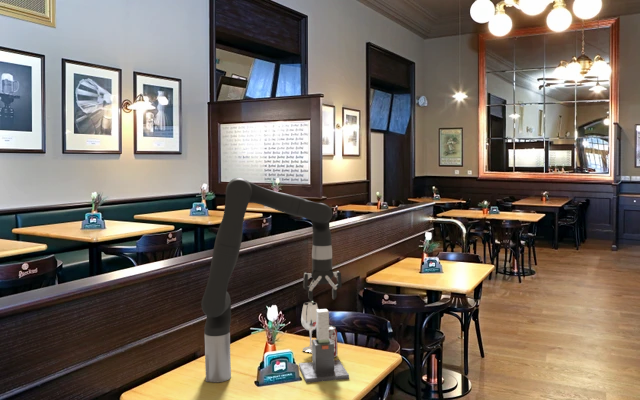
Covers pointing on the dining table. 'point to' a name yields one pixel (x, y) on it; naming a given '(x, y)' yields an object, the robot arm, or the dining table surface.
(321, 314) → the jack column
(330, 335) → the soda can
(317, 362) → the stand base
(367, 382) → the dining table surface
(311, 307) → the wineglass
